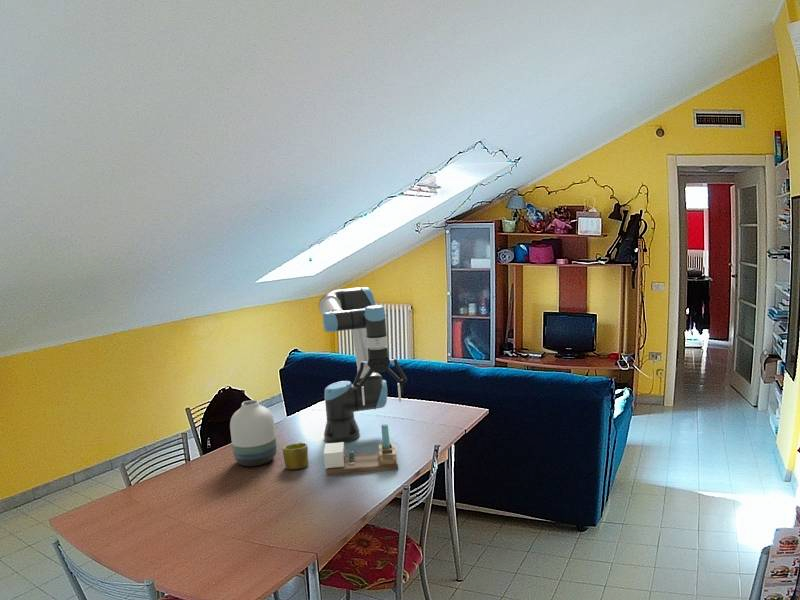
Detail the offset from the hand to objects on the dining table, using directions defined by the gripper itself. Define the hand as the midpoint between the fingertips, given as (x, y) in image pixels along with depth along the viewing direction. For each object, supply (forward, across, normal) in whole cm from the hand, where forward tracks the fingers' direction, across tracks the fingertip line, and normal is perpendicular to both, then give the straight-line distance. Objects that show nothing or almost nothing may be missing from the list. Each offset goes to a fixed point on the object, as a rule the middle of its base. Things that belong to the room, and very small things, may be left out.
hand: (381, 402), depth 232 cm
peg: (+21, 0, -1) cm, 21 cm away
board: (+23, -9, -3) cm, 25 cm away
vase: (+23, -51, +12) cm, 57 cm away
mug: (+23, -34, +4) cm, 41 cm away
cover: (+20, -19, -3) cm, 28 cm away
